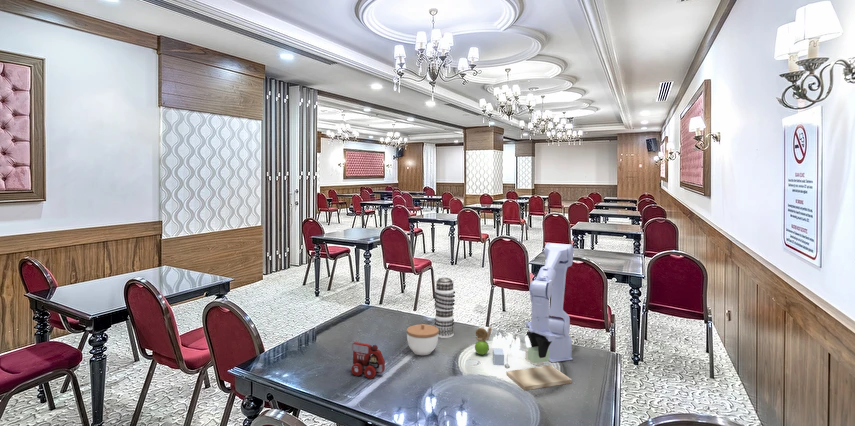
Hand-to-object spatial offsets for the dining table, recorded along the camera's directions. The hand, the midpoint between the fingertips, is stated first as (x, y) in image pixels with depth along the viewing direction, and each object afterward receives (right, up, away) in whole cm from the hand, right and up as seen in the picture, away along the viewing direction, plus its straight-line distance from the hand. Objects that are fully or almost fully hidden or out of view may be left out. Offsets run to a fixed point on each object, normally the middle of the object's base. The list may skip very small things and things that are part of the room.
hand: (539, 354), depth 146 cm
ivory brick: (+2, -8, +15) cm, 17 cm away
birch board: (0, -8, 0) cm, 8 cm away
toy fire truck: (-59, -8, +4) cm, 60 cm away
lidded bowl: (-40, -7, +23) cm, 47 cm away
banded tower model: (-31, -6, +43) cm, 53 cm away
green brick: (0, -2, 0) cm, 2 cm away
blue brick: (-11, -8, +15) cm, 20 cm away
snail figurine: (-16, -7, +21) cm, 28 cm away
